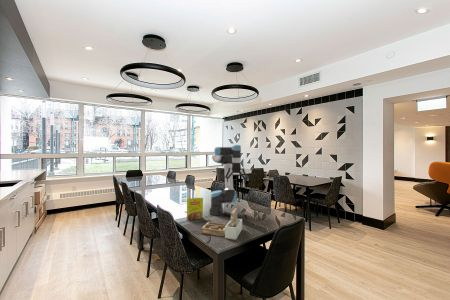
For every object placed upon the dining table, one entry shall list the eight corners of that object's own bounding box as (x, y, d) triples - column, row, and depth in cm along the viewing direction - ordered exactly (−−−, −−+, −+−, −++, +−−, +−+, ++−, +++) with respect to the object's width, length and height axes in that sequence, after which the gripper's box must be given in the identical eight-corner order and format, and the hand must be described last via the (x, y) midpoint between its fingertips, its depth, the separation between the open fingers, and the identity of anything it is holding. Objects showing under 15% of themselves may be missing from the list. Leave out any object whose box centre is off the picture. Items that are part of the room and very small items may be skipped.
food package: (187, 219, 203) (187, 198, 203) (186, 219, 204) (187, 198, 204) (202, 218, 207) (203, 197, 207) (202, 217, 208) (202, 197, 208)
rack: (208, 226, 187) (208, 221, 187) (228, 228, 181) (229, 224, 181) (201, 233, 172) (201, 228, 172) (223, 236, 166) (223, 231, 166)
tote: (232, 228, 183) (232, 218, 182) (242, 229, 180) (242, 219, 180) (224, 238, 163) (225, 226, 163) (235, 239, 160) (235, 228, 160)
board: (230, 235, 166) (230, 212, 166) (234, 229, 178) (234, 208, 177) (233, 235, 166) (233, 212, 165) (237, 229, 177) (237, 208, 177)
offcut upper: (210, 228, 176) (210, 226, 176) (217, 228, 177) (217, 225, 177) (211, 230, 173) (211, 228, 173) (218, 229, 174) (218, 227, 174)
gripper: (221, 162, 188) (221, 186, 189) (249, 163, 181) (249, 188, 181) (224, 161, 195) (224, 184, 196) (251, 162, 188) (251, 186, 188)
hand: (236, 186), depth 188 cm, fingers open, 13 cm apart
